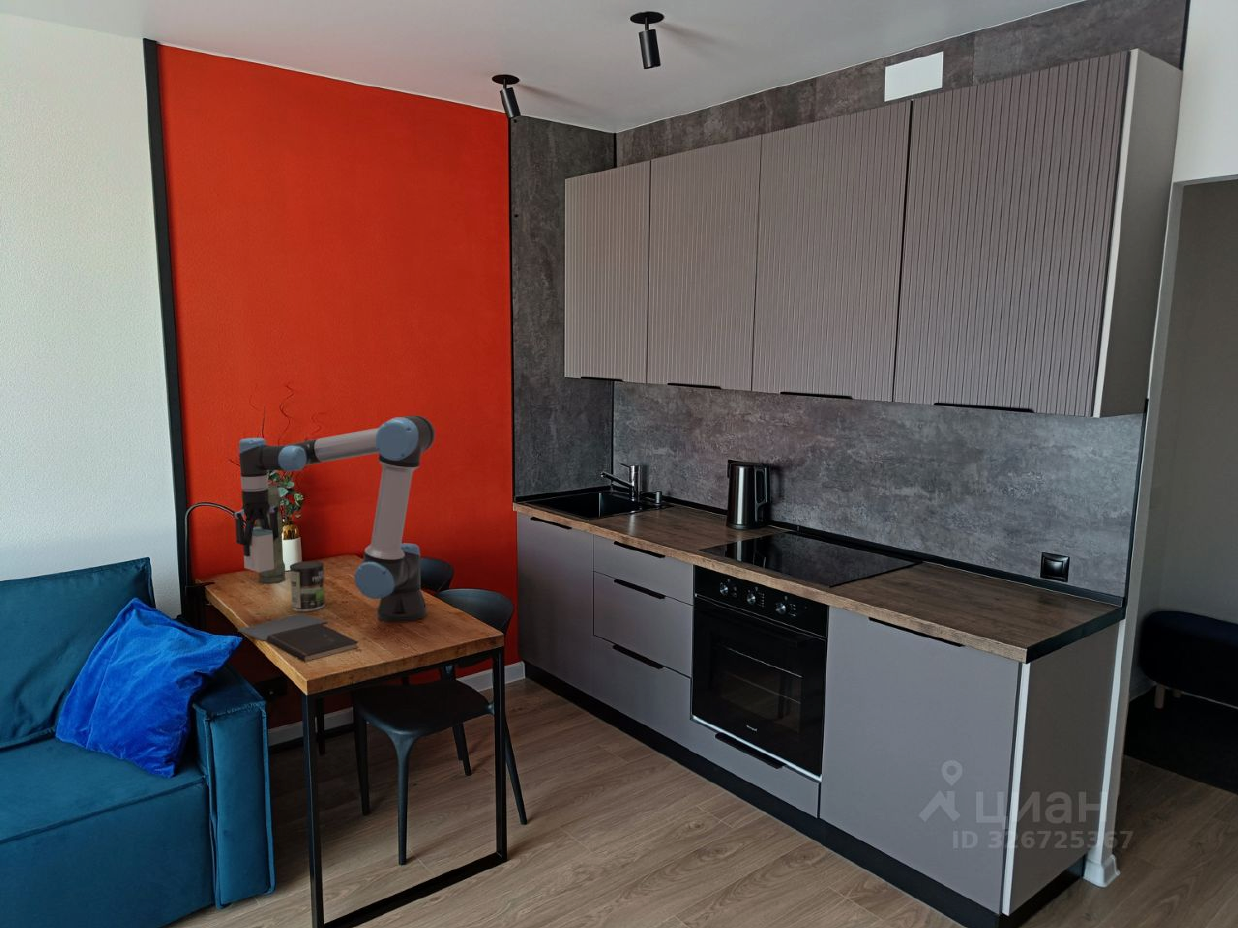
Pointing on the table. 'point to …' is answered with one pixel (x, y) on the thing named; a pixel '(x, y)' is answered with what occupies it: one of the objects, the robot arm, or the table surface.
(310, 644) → the hardcover book
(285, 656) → the table surface
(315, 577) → the coffee can
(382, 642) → the table surface
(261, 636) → the mat
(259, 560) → the slab
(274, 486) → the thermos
